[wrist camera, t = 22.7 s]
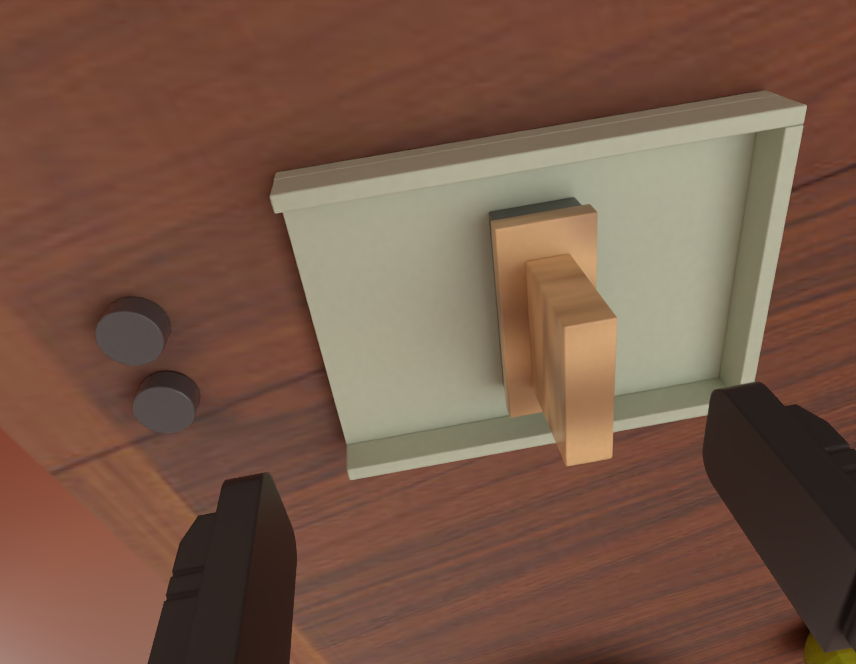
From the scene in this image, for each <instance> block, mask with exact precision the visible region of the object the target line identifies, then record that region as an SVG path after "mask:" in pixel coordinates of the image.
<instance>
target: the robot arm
mask: <svg viewBox="0 0 856 664" xmlns="http://www.w3.org/2000/svg"><path fill="white" fill-rule="evenodd" d="M703 461H704V465H705V469H706V472H707V475H708V477H709V479H710V481H711V483H712V485H713V486H714V488H715V489H716V491H717V492H718V494H719V495H720V497H721V498H722V500H723V501H724V503H725V504H726V506H727V507H728V509H729V510H730V512H731V513H732V515H733V516H734V518H735V519H736V521H737V522H738V524H739V525H740V527H741V528H742V530H743V531H744V533H745V534H746V536H747V537H748V539H749V540H750V542H751V543H752V545H753V546H754V548H755V549H756V551H757V552H758V554H759V555H760V557H761V558H762V560H763V561H764V563H765V564H766V566H767V567H768V569H769V570H770V572H771V573H772V575H773V576H774V578H775V579H776V581H777V582H778V584H779V585H780V587H781V588H782V590H783V591H784V593H785V594H786V596H787V597H788V599H789V601H790V602H791V604H792V605H793V607H794V608H795V610H796V611H797V613H798V614H799V616H800V617H801V619H802V620H803V622H804V623H805V625H806V626H807V628H808V629H809V631H810V632H811V634H812V635H813V637H814V638H815V640H816V641H817V643H818V644H819V646H820V647H821V649H822V650H823V652H824V653H827V652H832V651H837V650H842V649H847V648H852V649H853V650H854V651H855V653H856V451H855V450H854V449H850V447H849V444H848V443H847V442H846V441H845V440H844V439H843V438H842V437H841V436H840V435H839V434H838V432H837V431H836V430H835V429H834V428H833V427H832V426H831V425H830V424H829V423H828V422H827V421H825V420H823V419H821V418H820V417H818V416H816V415H814V414H812V413H811V412H809V411H807V410H805V409H804V408H802V407H800V406H798V405H797V404H795V405H789V406H784V405H783V404H782V403H781V402H780V401H779V400H778V398H777V397H776V396H775V395H774V394H773V393H772V392H771V391H770V390H769V389H768V388H767V387H766V386H765V385H764V384H762V383H760V382H750V383H745V384H740V385H735V386H729V387H724V388H719V389H715V390H713V392H712V393H711V396H710V401H709V408H708V415H707V422H706V429H705V437H704V444H703ZM296 566H297V550H296V541H295V536H294V531H293V528H292V525H291V523H290V520H289V518H288V515H287V513H286V510H285V508H284V505H283V503H282V500H281V498H280V495H279V493H278V491H277V488H276V486H275V483H274V481H273V478H272V476H271V475H270V474H269V473H268V472H265V473H260V474H255V475H249V476H244V477H239V478H233V479H228V480H225V481H224V483H223V485H222V488H221V492H220V497H219V501H218V506H217V510H216V513H210V514H205V515H200V516H198V517H197V518H196V520H195V521H194V523H193V524H192V526H191V527H190V529H189V530H188V532H187V533H186V534H185V536H184V537H183V539H182V540H181V542H180V544H179V548H178V552H177V555H176V559H175V563H174V567H173V570H172V572H173V577H171V578H170V582H169V585H168V589H167V593H166V597H167V600H166V601H164V604H163V608H162V612H161V616H160V619H159V623H158V627H157V631H156V634H155V638H154V642H153V646H152V649H151V653H150V657H149V661H148V664H289V661H290V648H291V634H292V620H293V607H294V593H295V579H296Z"/></svg>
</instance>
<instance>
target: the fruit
mask: <svg viewBox="0 0 856 664" xmlns="http://www.w3.org/2000/svg"><path fill="white" fill-rule="evenodd" d="M804 662H805V664H856V653H855V651H854V650H853V649H852V648H847V649H842V650H837V651H832V652H827V653H824V652H823V650H822V649H821V647H820V646H819V644H818V643H817V641H816V640H815V638H814V637H813V635H812V634H811V632H810V633H809V635H808V637H807V640H806V643H805V647H804Z"/></svg>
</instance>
